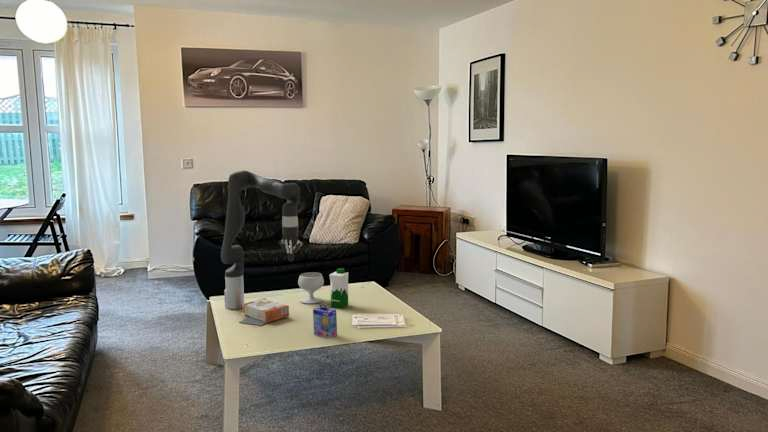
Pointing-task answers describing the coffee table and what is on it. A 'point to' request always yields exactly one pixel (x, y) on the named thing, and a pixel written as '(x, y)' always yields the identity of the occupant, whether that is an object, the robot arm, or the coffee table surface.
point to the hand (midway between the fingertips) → (291, 260)
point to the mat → (253, 321)
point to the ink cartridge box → (325, 321)
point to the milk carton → (339, 289)
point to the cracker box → (265, 310)
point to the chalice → (311, 285)
